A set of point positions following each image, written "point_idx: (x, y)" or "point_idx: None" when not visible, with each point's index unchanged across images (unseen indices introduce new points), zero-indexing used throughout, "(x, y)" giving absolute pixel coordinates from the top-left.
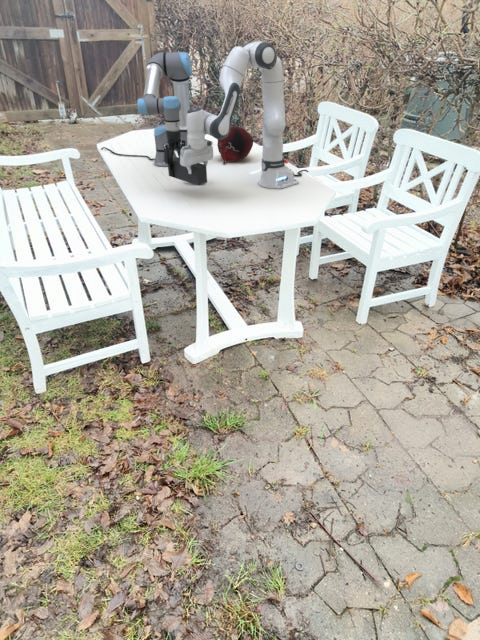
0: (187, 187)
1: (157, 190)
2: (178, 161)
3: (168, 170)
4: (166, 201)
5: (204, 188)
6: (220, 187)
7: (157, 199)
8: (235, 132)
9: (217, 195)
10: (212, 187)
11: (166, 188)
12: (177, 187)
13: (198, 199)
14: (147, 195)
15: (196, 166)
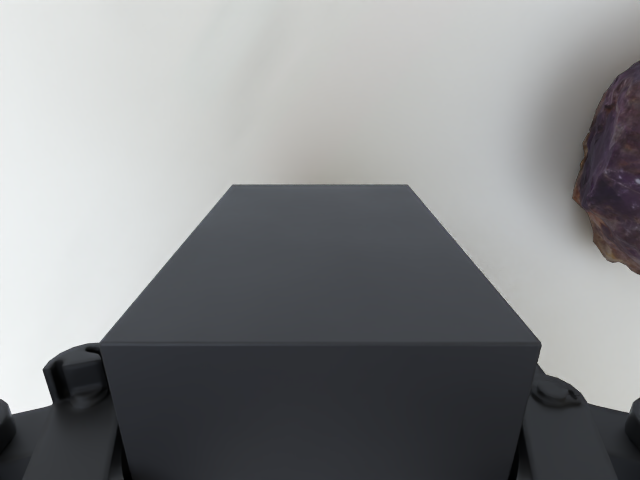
0: (458, 185)
1: (178, 7)
2: None
3: (209, 215)
4: (88, 318)
5: (521, 315)
6: (610, 384)
7: (46, 231)
8: None
9: None
10: (579, 343)
11: (294, 33)
12: (396, 105)
13: None
14: (8, 62)
15: None
